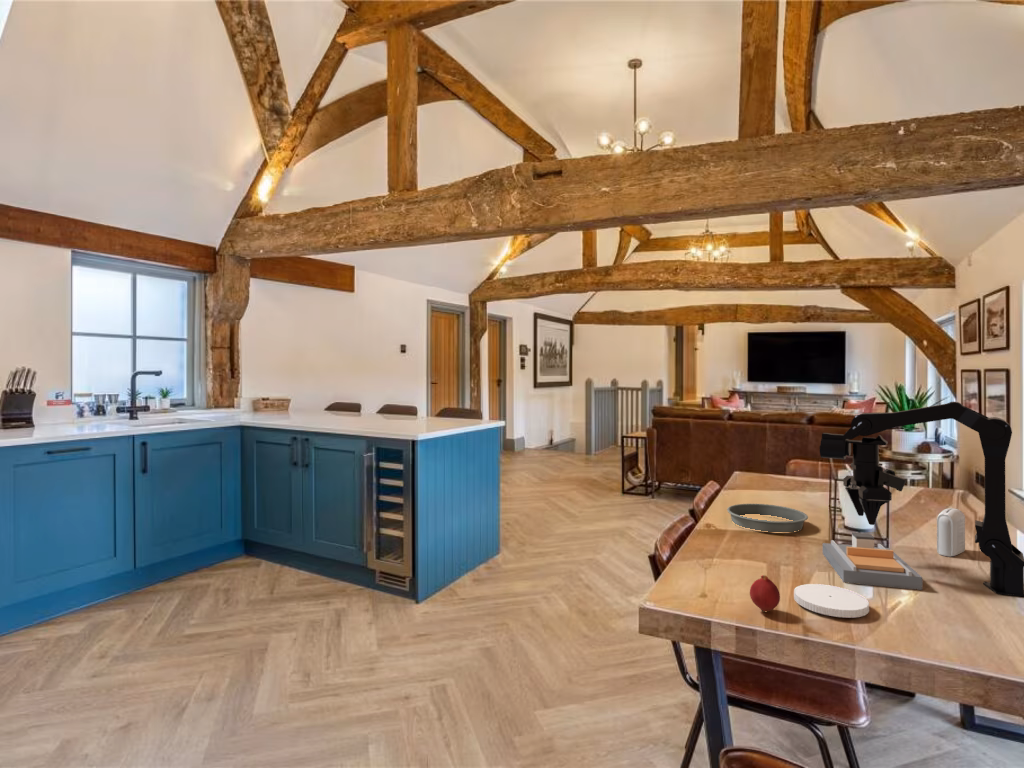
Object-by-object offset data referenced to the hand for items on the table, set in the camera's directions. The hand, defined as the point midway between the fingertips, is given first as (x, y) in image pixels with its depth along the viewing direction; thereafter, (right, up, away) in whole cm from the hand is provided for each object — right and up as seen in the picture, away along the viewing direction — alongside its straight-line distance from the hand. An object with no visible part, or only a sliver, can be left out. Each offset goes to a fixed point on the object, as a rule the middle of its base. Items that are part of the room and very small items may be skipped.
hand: (866, 520), depth 141 cm
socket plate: (-2, -12, -4) cm, 13 cm away
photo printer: (+30, -12, +9) cm, 33 cm away
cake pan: (-8, -12, +39) cm, 42 cm away
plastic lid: (-24, -13, -25) cm, 37 cm away
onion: (-39, -13, -27) cm, 49 cm away
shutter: (-4, -9, -8) cm, 13 cm away
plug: (-1, -12, 0) cm, 12 cm away
